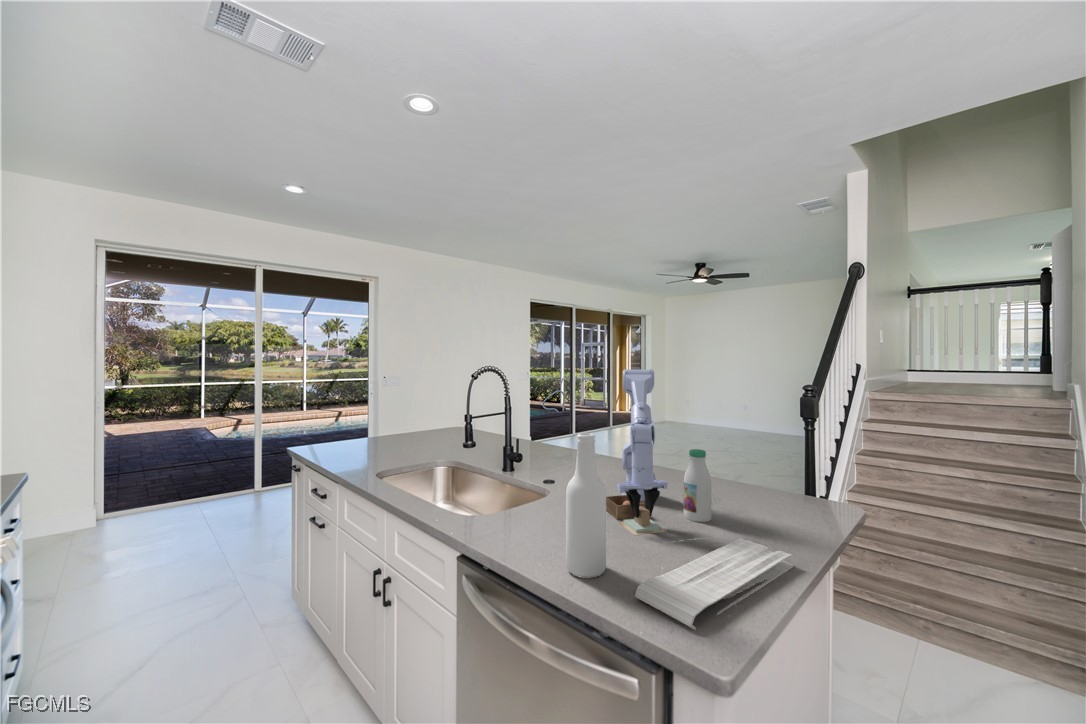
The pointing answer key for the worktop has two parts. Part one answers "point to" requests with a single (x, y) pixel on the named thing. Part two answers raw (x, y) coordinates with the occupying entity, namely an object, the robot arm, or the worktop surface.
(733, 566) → the hand towel
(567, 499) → the alcohol
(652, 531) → the mat
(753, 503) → the worktop surface
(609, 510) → the box
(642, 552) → the worktop surface
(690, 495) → the milk bottle
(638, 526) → the lid
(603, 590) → the worktop surface
